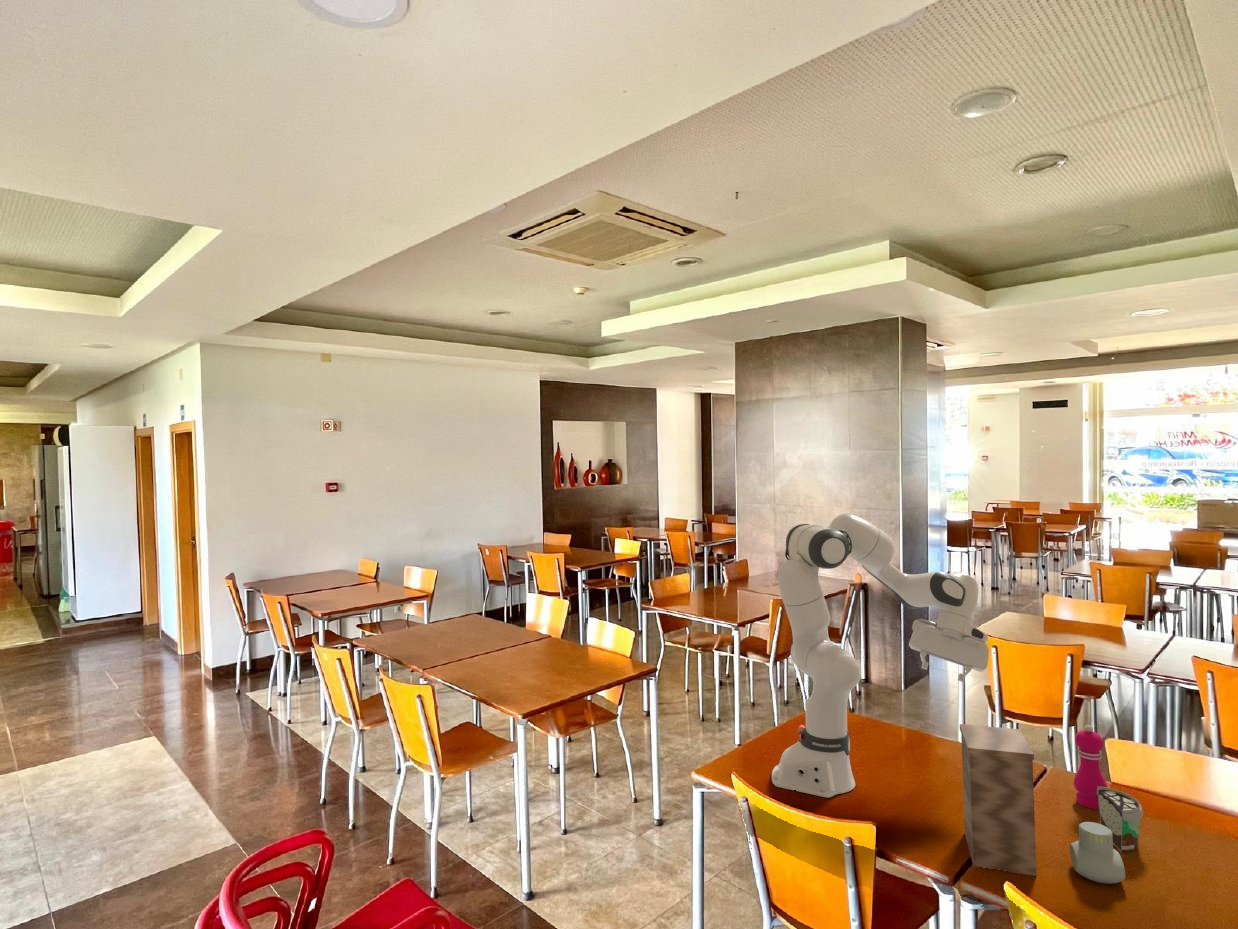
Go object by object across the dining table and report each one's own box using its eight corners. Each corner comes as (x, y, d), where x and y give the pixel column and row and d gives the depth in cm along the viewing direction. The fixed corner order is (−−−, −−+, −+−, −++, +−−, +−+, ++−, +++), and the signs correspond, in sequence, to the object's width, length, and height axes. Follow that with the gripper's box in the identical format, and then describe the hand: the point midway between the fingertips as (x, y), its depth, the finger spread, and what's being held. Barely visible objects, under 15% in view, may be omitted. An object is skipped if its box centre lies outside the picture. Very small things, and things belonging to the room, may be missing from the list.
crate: (972, 866, 149) (967, 747, 149) (963, 833, 162) (959, 724, 162) (1038, 876, 145) (1034, 754, 145) (1023, 841, 158) (1019, 729, 158)
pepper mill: (1105, 799, 175) (1102, 722, 175) (1111, 813, 169) (1109, 732, 169) (1071, 794, 178) (1069, 718, 178) (1077, 807, 172) (1074, 728, 172)
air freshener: (1068, 857, 151) (1066, 812, 151) (1113, 865, 148) (1111, 819, 148) (1080, 886, 141) (1078, 838, 141) (1128, 895, 138) (1126, 845, 138)
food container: (1156, 859, 149) (1155, 813, 149) (1125, 856, 151) (1123, 811, 151) (1126, 829, 161) (1125, 787, 161) (1097, 827, 163) (1096, 785, 163)
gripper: (915, 613, 196) (904, 658, 191) (994, 637, 187) (984, 685, 182) (913, 619, 201) (901, 663, 196) (989, 643, 193) (979, 690, 188)
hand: (942, 674), depth 189 cm, fingers open, 8 cm apart
